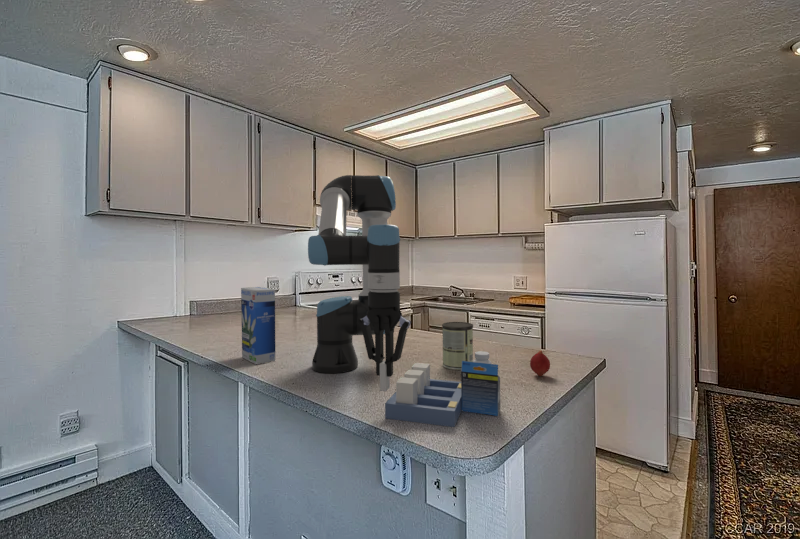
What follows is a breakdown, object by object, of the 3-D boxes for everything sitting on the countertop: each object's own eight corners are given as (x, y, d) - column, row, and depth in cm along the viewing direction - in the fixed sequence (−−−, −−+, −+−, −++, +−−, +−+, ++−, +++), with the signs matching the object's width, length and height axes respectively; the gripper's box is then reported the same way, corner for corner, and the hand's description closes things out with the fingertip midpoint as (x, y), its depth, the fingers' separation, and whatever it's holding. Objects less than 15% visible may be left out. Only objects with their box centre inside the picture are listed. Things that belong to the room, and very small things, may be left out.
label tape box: (500, 410, 94) (500, 360, 94) (498, 417, 90) (498, 364, 90) (464, 405, 98) (464, 356, 97) (460, 411, 94) (460, 360, 93)
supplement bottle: (468, 385, 113) (468, 351, 112) (484, 382, 115) (484, 349, 114) (479, 391, 108) (479, 356, 107) (495, 388, 110) (495, 354, 109)
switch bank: (385, 418, 90) (385, 402, 90) (409, 389, 109) (409, 376, 109) (454, 427, 85) (454, 410, 85) (467, 395, 104) (467, 381, 104)
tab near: (396, 407, 91) (396, 382, 91) (401, 401, 95) (401, 377, 95) (412, 409, 90) (412, 383, 90) (417, 403, 94) (417, 378, 93)
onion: (526, 376, 121) (526, 350, 120) (534, 372, 125) (535, 347, 124) (545, 380, 117) (545, 353, 116) (553, 375, 121) (553, 350, 120)
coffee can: (442, 361, 138) (442, 321, 137) (471, 361, 137) (471, 321, 136) (442, 369, 128) (442, 326, 127) (474, 370, 127) (474, 327, 126)
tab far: (411, 389, 103) (411, 366, 103) (415, 384, 107) (415, 362, 107) (426, 390, 102) (426, 368, 102) (430, 385, 106) (429, 363, 106)
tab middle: (404, 398, 97) (404, 374, 97) (409, 392, 101) (408, 369, 101) (420, 399, 96) (420, 375, 96) (424, 394, 100) (424, 370, 100)
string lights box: (241, 357, 144) (239, 287, 143) (261, 354, 150) (260, 286, 149) (256, 365, 135) (254, 290, 134) (277, 360, 140) (275, 288, 139)
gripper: (352, 291, 91) (353, 391, 92) (405, 292, 87) (406, 397, 88) (364, 288, 98) (365, 381, 99) (414, 289, 94) (415, 386, 95)
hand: (384, 389), depth 94 cm, fingers closed
